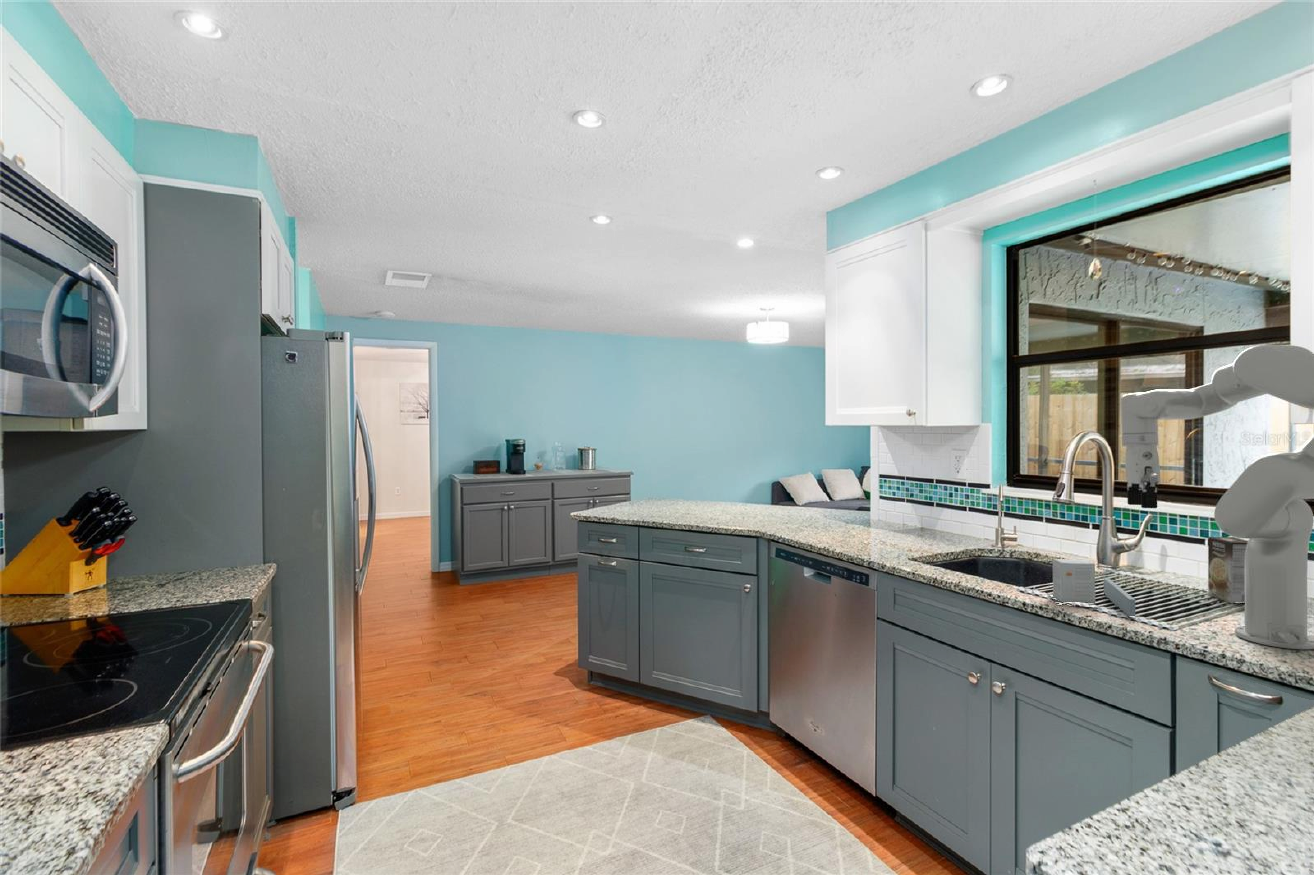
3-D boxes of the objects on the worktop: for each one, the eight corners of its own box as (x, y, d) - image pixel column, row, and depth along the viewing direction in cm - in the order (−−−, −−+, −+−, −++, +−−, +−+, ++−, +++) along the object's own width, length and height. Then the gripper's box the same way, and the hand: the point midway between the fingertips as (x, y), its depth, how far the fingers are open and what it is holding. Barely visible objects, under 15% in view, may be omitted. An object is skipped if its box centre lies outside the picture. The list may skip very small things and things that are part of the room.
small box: (1085, 598, 166) (1085, 559, 166) (1095, 604, 160) (1095, 563, 160) (1052, 597, 167) (1052, 558, 167) (1061, 602, 162) (1061, 562, 162)
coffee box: (1206, 594, 170) (1206, 536, 170) (1233, 595, 169) (1233, 536, 169) (1231, 603, 161) (1230, 541, 161) (1259, 604, 160) (1259, 542, 160)
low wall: (1135, 618, 149) (1135, 599, 149) (1129, 617, 149) (1129, 599, 149) (1109, 594, 171) (1108, 578, 171) (1103, 594, 171) (1103, 577, 171)
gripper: (1171, 439, 152) (1173, 509, 152) (1144, 440, 168) (1146, 503, 168) (1134, 440, 155) (1136, 509, 154) (1111, 441, 171) (1113, 503, 171)
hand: (1142, 506), depth 161 cm, fingers open, 9 cm apart
